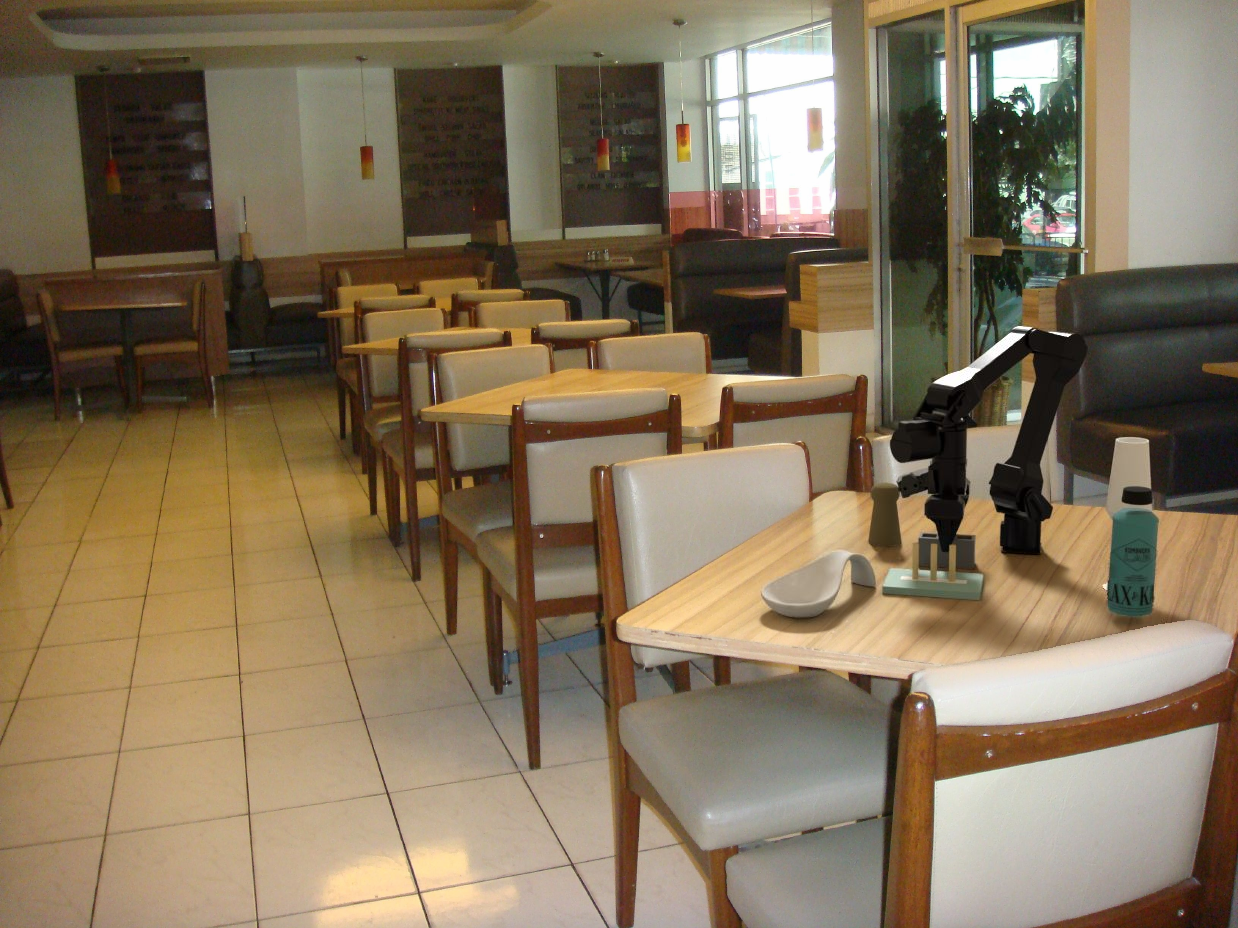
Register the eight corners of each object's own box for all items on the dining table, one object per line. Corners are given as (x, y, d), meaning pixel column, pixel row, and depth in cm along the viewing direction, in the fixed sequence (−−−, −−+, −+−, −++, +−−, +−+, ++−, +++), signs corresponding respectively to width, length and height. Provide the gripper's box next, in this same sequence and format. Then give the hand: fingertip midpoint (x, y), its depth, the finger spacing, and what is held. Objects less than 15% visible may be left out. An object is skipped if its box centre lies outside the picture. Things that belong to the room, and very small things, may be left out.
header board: (983, 580, 198) (984, 538, 197) (979, 600, 189) (980, 555, 187) (890, 574, 203) (890, 533, 202) (882, 593, 194) (882, 550, 192)
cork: (902, 546, 219) (902, 487, 217) (868, 546, 220) (868, 487, 218) (901, 537, 225) (901, 480, 223) (868, 536, 226) (868, 479, 224)
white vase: (1127, 597, 188) (1135, 446, 182) (1092, 586, 193) (1099, 439, 188) (1157, 589, 191) (1165, 440, 185) (1121, 579, 196) (1129, 434, 191)
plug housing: (974, 563, 208) (975, 535, 207) (973, 569, 205) (974, 540, 203) (920, 559, 211) (920, 532, 210) (917, 565, 208) (918, 537, 207)
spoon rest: (808, 631, 179) (808, 585, 178) (745, 615, 187) (745, 570, 186) (894, 591, 196) (894, 549, 194) (833, 578, 204) (833, 537, 202)
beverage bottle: (1097, 613, 181) (1103, 483, 177) (1140, 610, 182) (1147, 481, 177) (1118, 628, 175) (1125, 494, 171) (1163, 625, 175) (1171, 491, 171)
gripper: (906, 443, 215) (905, 527, 218) (893, 465, 198) (892, 557, 201) (971, 445, 211) (969, 531, 215) (964, 468, 194) (962, 561, 197)
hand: (947, 544), depth 207 cm, fingers open, 9 cm apart
